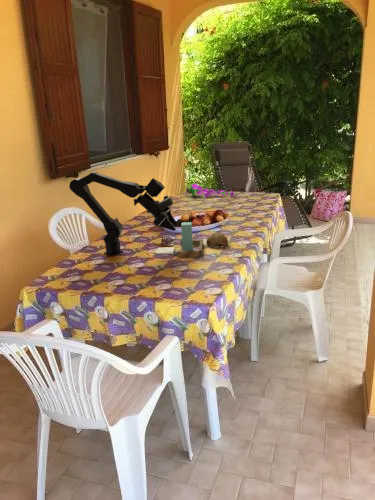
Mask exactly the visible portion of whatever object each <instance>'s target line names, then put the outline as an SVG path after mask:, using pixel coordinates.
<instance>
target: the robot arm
mask: <svg viewBox="0 0 375 500" xmlns="http://www.w3.org/2000/svg"><path fill="white" fill-rule="evenodd" d="M91 183H96V184H99V185H103V186H105V187H109V188H110V189H113V190H117V191H119V192H121V193H122V194H123V195H125V196H127V197H128V198H131V199H132V198H134V199H133V206H136V205H138V204H139V205H140V206H142V208H143V209H145V210H146V211H147V214H150V215H152V216H153V217H154V218H153V219H154V220H153V225H154V226H155V227H158V228H159V227H160V228H162V229H165V230H170V231H172V232H175V231H176V230H177V229H176V227H175V226H177V225H178V224H179V223H178V222H177V221H176V219H175V217H174V216H173V214H172V209H171V206H172V205H174V204H173V203H174V201H173V198H172V197H171V196H168V195H164V196H163V199H162V200H155V199H154V197H155V198H157V197H158V196H159V195H160V194H161V193H162V192H163V191H164V189H165V186H164V184H163V183H162V182H161V181H158V180H157V179H155V178H154V177H152V179H150V181H149V182H148V184H146V185H141V184H139V183H137V182H133V181H122V180H121V179H116V178H113V177H111V176H108V175H105V174H102V173H99V172H98V171H92V172H90V173H89V174H87V175H85V176H83V177H76V178H74V179H72V180H71V181H70V182H69V186H68V188H69V190H70V191H71V192H73V194H75V195H76V197H79V198H80V199H82V200H83V202H84V203H85V205H87V206H88V207H89V208H90V210H91V212H93V213H94V215H95V216H96V217H97V218H98V219H99V221H100V222H101V223H102V225H103V228H104V231H105V232H106V233H107V234H106V235H105V236H104V237H103V238H102V239H103V241H104V245H105V251H104V252H103V254H106V255H110V256H115V255H118V254H120V253H122V252H124V250H122V249H121V241H120V236H121V235H122V233H123V229H124V228H123V223H122V222H120V220H119V219H118V218H117V217H115V218H113V217H111V216H110V215H109V214H108V212H107V211H106V209H104V207H103V206H102V205H101V203H99V201H98V199H96V198H95V196H94V195H93V194H92V192H91V190H90V187H89V184H91ZM143 193H144V194H143ZM136 197H137V198H136Z"/></svg>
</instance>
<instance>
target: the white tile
mask: <svg viewBox="0 0 375 500" xmlns="http://www.w3.org/2000/svg"><path fill="white" fill-rule="evenodd" d="M175 249H176V247H175V246H174V247H173V246H172V247H171V246H168V247H167V246H166V247H157V250H156V251H155V255H173V253H175Z"/></svg>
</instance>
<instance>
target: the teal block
mask: <svg viewBox="0 0 375 500" xmlns="http://www.w3.org/2000/svg"><path fill="white" fill-rule="evenodd" d="M180 228H181V230H180V231H181V240H182V246H181V247H182V248H181V249H182V251H194V246H193V240H194V238H193V222H191V221H188V222H185V221H184V222H181V225H180Z"/></svg>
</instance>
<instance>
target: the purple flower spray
mask: <svg viewBox="0 0 375 500" xmlns="http://www.w3.org/2000/svg"><path fill="white" fill-rule="evenodd" d="M185 192H186V193H188V194H190V195H191V196H192V197H194V196H196V195H202V194H203V195H202V196H203V197H205V198H208V197H209V196H212V195H214V196H219V195H221V196H228V195H229V196H230V198H233V196H234V190H233V189H230V192H229V191H225V190H223V189H221V190H220V189H217V188H215V189H212V188H211V189H210V188H208V187H204V188H203V186H200V185H199V184H198V183H196V182H193V183H192V184H190V185H189V187H186V190H185ZM195 192H196V193H195Z"/></svg>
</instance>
